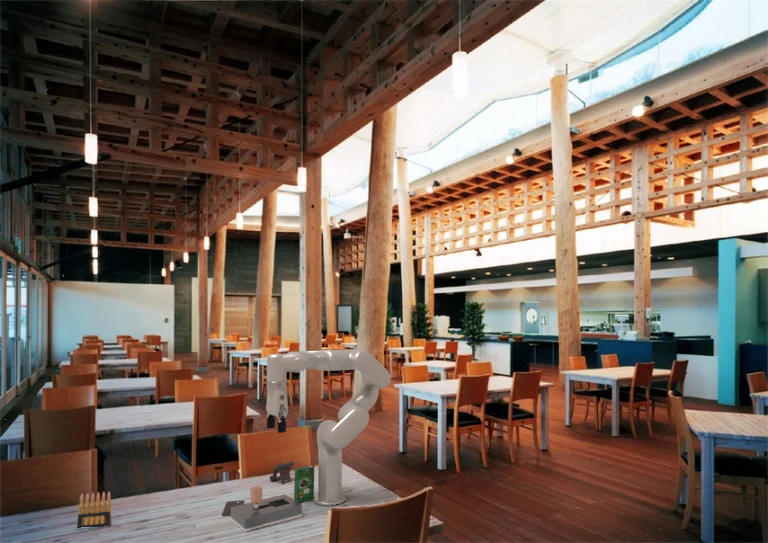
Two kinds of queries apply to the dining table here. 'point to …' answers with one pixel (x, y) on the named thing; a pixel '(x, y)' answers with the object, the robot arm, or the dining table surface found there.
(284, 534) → the dining table surface
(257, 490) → the peg
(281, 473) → the portable electronic device stand
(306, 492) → the coffee box
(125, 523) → the dining table surface
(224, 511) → the smartphone
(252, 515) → the keyhole plate
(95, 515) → the ammunition clip
